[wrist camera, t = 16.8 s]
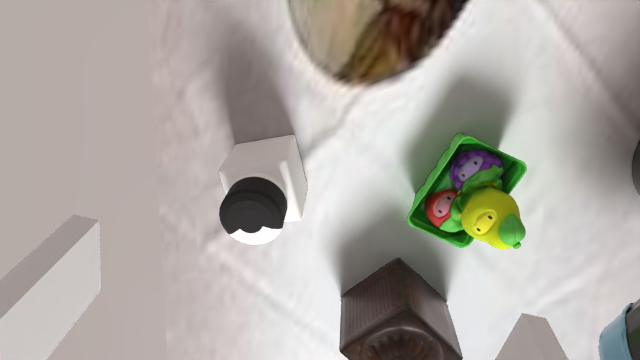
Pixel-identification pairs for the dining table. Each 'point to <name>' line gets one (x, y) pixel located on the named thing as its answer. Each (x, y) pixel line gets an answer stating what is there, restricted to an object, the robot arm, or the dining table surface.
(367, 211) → the dining table surface
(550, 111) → the dining table surface
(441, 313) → the pepper mill
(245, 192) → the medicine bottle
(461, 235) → the fruit basket
